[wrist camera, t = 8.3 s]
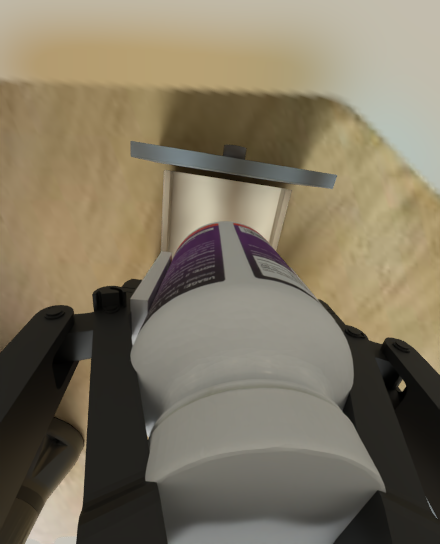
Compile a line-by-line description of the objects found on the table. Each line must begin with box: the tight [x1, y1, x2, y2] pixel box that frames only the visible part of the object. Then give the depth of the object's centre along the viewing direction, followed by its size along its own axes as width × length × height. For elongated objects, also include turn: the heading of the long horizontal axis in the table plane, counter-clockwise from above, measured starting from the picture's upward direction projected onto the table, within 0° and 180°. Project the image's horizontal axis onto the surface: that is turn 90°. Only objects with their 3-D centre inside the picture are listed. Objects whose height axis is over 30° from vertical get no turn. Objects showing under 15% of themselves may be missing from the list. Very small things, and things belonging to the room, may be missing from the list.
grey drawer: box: [131, 141, 337, 259], centre depth 23 cm, size 16×15×8 cm
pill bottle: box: [130, 221, 386, 544], centre depth 11 cm, size 8×8×14 cm
